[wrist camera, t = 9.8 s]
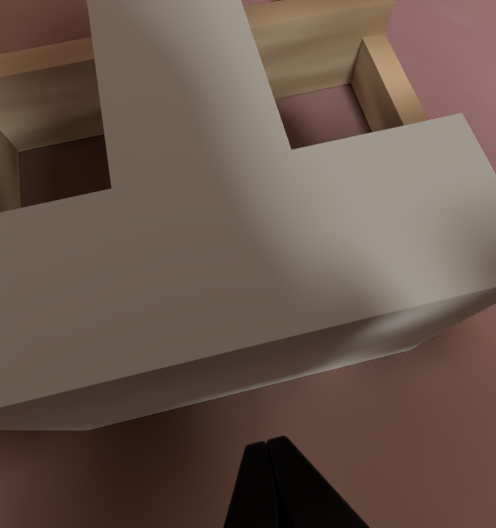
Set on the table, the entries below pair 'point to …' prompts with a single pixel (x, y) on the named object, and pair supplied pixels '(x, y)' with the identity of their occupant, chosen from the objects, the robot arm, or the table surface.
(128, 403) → the t block
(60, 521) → the table surface
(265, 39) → the birch bay
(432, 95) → the table surface
